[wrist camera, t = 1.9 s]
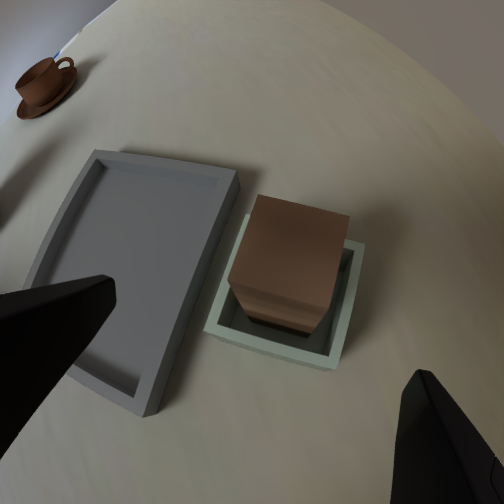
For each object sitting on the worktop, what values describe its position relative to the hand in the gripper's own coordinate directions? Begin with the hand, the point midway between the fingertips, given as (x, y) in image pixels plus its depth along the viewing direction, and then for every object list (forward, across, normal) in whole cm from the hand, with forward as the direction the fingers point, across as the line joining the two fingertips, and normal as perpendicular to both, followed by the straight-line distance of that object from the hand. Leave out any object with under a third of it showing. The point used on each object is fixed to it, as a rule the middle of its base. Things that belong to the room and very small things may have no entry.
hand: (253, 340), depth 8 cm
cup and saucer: (+26, +43, -7) cm, 51 cm away
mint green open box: (+12, 0, +6) cm, 14 cm away
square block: (+12, 0, +6) cm, 13 cm away
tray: (+11, +14, +7) cm, 19 cm away
